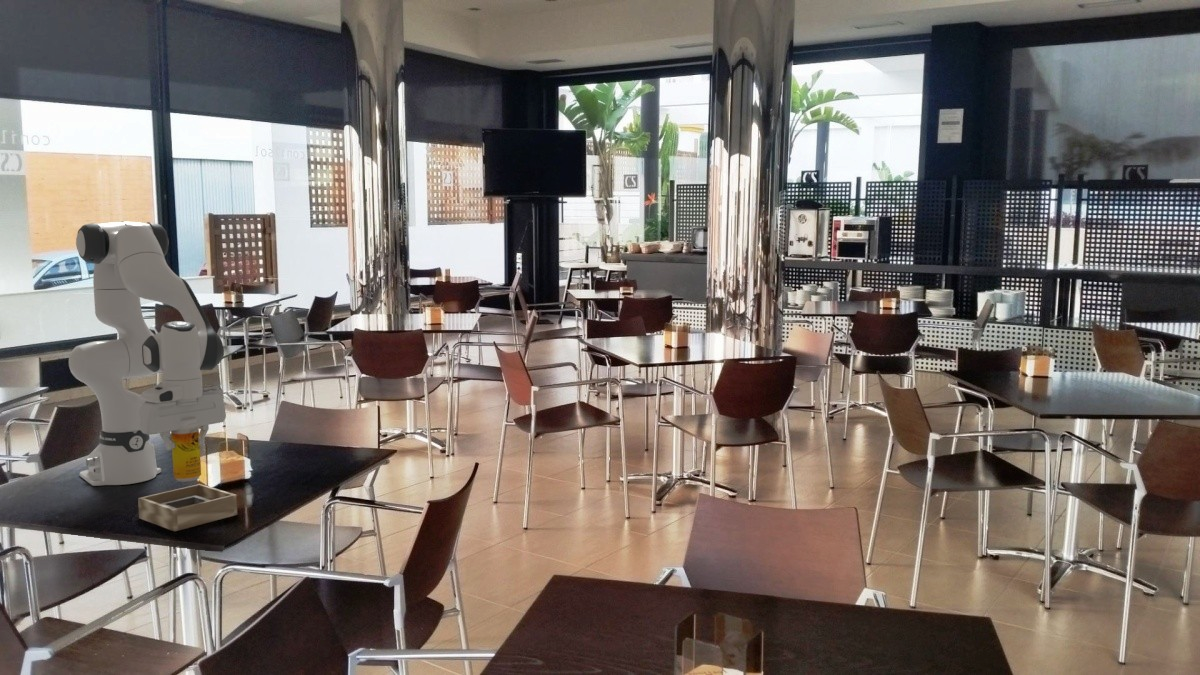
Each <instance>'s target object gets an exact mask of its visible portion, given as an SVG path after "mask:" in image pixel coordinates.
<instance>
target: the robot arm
mask: <svg viewBox="0 0 1200 675" xmlns="http://www.w3.org/2000/svg"><path fill="white" fill-rule="evenodd" d="M169 242H170V241H169V237H168V232H167V231H166V229H165V228H164V227H163V226H162V225H161V224H159V223H155V222H148V221H147V222H139V221H125V220H124V221H123V220H122V221H113V222H112V221H111V222H102V223H101V222H100V223H97V222H92V223H91V222H90V223H86V224H83V225H82V226H81V227H80V228H79V229H78V231H77V234H76V238H75V246H76V251H77V252H78V254H79V255H78V256H79V257H80V259H82V260H83V261H84V262H86V263H90V264H94V265H93V279H92V282H93V283H92V284H93V297H94V313H95V317H96V318H97V320H98V321H99V322H101V323H102V324H104V325H106V326H108V327H111V328H114V329H115V330H116V331H117V333H118V339H110V340H109V339H108V340H96V341H95V340H94V341H89V342H87V343H82V344H79V345H76V346H75V347H74V348H73V349H72V351H71V352H70V354H69V356H68V367H69V370H70V373H71V374H72V376H73V377H74V378H75V379H76V380H78V382H79V381H80V382H81V383H82V384H83V383H84V385H87V387H88V388H89V389H90V390H91V391H92V392H93V393H94V395H95V396H96V399H97V401H98V404H99V409H100V415H101V416H100V417H101V427H102V429H101V430H98V432H99V434H98V435H99V442H98V443H99V444H98V445H97V446H96V447H95V449H93V451H91V452H90V453H89V454H88V458H86V459H85V465H86V467H87V468H88V469H85V470H81V471H80V472H79V477H80V478H82V479H83V480H85V481H86V482H87V483H88V484H90V485H91V486H93V487H96V486H98V487H99V486H121V485H131V484H133V485H134V484H138V483H143V482H146V481H150V480H152V479H155V477H157V475H158V474H160V473H162V468H160V467H158V466H157V461H156V460H157V459H156V452H155V446H154V444H153V443H152V442H150V441H149V440H150V436H153V435H159V437H160V438H161V439H162V441H163V442H164V444H165V449H166V451H172V450H173V449H175V442H172V439H170V438H169V437H171V431H176V430H178V428H179V423H180V420H186V419H192V418H195V417H196V419H197V421H198V426H199V444H200V445H204V444H205V441H206V440H205V439H206V438H205V437H206V435H207V433H208V431H209V429H210V428H209V425H214V424H215V425H216V424H220V423H224V422H225V420H226V418H227V416H226V415H227V414H226V413H227V412H226V407H225V406H226V405H225V401H224V390H223V389H222V387H220V386H218V385H217V384H216V385H211V386H209V385H208V386H203V374H202V371H212V370H214V369H215V368H216V367H217V366H219V364H220V363H221V362H222V360H223V358H224V356H225V355H224V354H225V349H224V344H223V341H222V339H221V337H220V336H219V334H218V333H217V332H216V331H215V329H214V327H213V326H212V325H211V322H210V321H209V319H208V317H207V316H206V313H205V311H204V309H203V308H202V306H201V304H200V302H199V300H198V298H197V297H196V295H195V293H194V292H193V289H192V287H191V286H190V285H189V283H188V282H187V280H185V279H184V278H182V277H179V275H177V274H176V273H175V272H174V271H173V270H172V269H171V267H170V266H169V265H168V263H167V260H166V258H165V257H166V255H167V254H168V251H169ZM141 299H144V300H149V301H154V302H158V303H162V304H165V305H167V306H171V307H173V308H174V309H176V310H177V311H178V312H179V313H180V315H181V316H182V319H183V321H182V320H174V321H172V320H171V321H168V322H165V323H163V324H162V326H161V327H160V331H159V332H157V333H153V332H152V331H151V329H150V328H149V327H148V325H147V323H146V320H145V319H144V317H143V313H142V311H143V310H142V305H141ZM161 373H162V375H161V382H160V383H158V384H157V385H154V386H152V387H151V388H148V389H147V390H144V391H143V392H142V393H141V394H139V393H137V392H134V391H131V390H128V389H126V388H125V385H124V380H126V379H127V380H128V379H134V378H135V379H136V378H142V377H143V378H144V377H149V376H153V375H157V374H161Z"/></svg>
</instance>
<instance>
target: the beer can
mask: <svg viewBox="0 0 1200 675" xmlns="http://www.w3.org/2000/svg"><path fill="white" fill-rule="evenodd" d="M199 432H200V429H199V426H198V421H197V419H196V417H195V418H192V419H186V420H180V423H179V428H178V430H176V431H170V437H171V439H170V440H171V441H172V442H175V449H173V450H171V452H172V453H171V454H172V455H171V456H172V470H173V471H172V472H173V478H174V479H175V480H176V481H177V482H183V483H184V482H185V483H186V482H192V481H197V480H198V479H200V477H201V475H202V469H201V468H202V466H201V463H202V462H201V447H200V445H201V444H199Z"/></svg>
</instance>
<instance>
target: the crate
mask: <svg viewBox="0 0 1200 675" xmlns="http://www.w3.org/2000/svg"><path fill="white" fill-rule="evenodd" d="M237 497H238V495H237V494H235V493H232V492H229V491H225V490H221V489H218V488H215V487H212V486H209V485H206V484H203V483H197V484H194V485H188V486H185V487H181V488H176V489H172V490H167V491H163V492H159V493H154V494H149V495H146V496H141V497H138V498H137V501H138V505H137V506H138V518H139V520H140V519H141V520H143V521H146V522H148V523H150V524H154V525H156V526H159V527H161V528H164V529H166V530H169V531H173V532H177V531H181V530H185V529H190V528H193V527H196V526H199V525H204V524H207V523H212V522H215V521H218V520H223V519H226V518H231V517H234V516H237V515H238V500H237Z"/></svg>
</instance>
